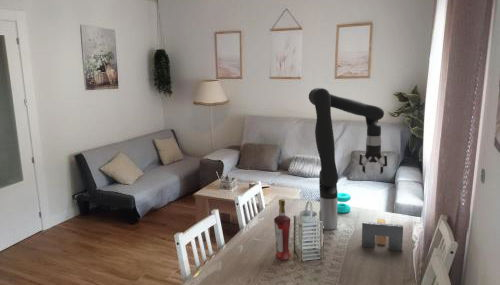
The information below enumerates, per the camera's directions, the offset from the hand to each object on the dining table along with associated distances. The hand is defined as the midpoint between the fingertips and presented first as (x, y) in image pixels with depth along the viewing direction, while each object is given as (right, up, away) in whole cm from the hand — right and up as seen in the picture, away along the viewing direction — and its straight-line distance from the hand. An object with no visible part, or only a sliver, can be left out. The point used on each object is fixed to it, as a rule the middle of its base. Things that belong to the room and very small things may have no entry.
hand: (372, 173), depth 199 cm
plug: (+1, -31, -11) cm, 33 cm away
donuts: (-11, -25, +23) cm, 36 cm away
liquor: (-51, -37, -30) cm, 70 cm away
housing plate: (-4, -34, -24) cm, 41 cm away
